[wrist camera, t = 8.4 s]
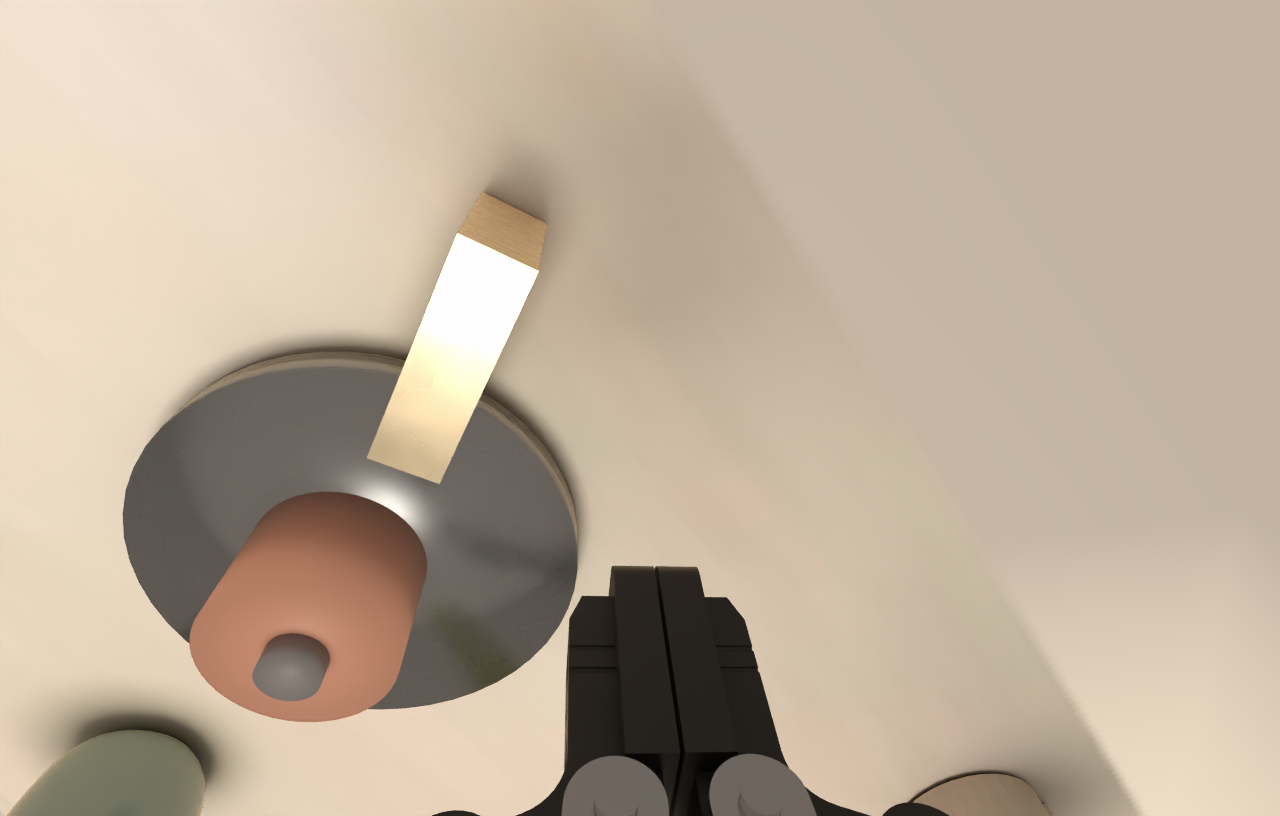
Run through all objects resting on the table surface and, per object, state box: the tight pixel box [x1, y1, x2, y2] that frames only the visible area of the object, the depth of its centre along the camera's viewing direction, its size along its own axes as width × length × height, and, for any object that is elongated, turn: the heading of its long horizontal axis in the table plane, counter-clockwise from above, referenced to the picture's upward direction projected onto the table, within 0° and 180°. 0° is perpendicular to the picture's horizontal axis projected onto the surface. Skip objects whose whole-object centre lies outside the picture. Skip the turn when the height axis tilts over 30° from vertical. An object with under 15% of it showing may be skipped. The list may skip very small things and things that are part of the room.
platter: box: [123, 192, 578, 709], centre depth 26 cm, size 18×25×6 cm
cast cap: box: [190, 492, 427, 722], centre depth 26 cm, size 7×7×6 cm
